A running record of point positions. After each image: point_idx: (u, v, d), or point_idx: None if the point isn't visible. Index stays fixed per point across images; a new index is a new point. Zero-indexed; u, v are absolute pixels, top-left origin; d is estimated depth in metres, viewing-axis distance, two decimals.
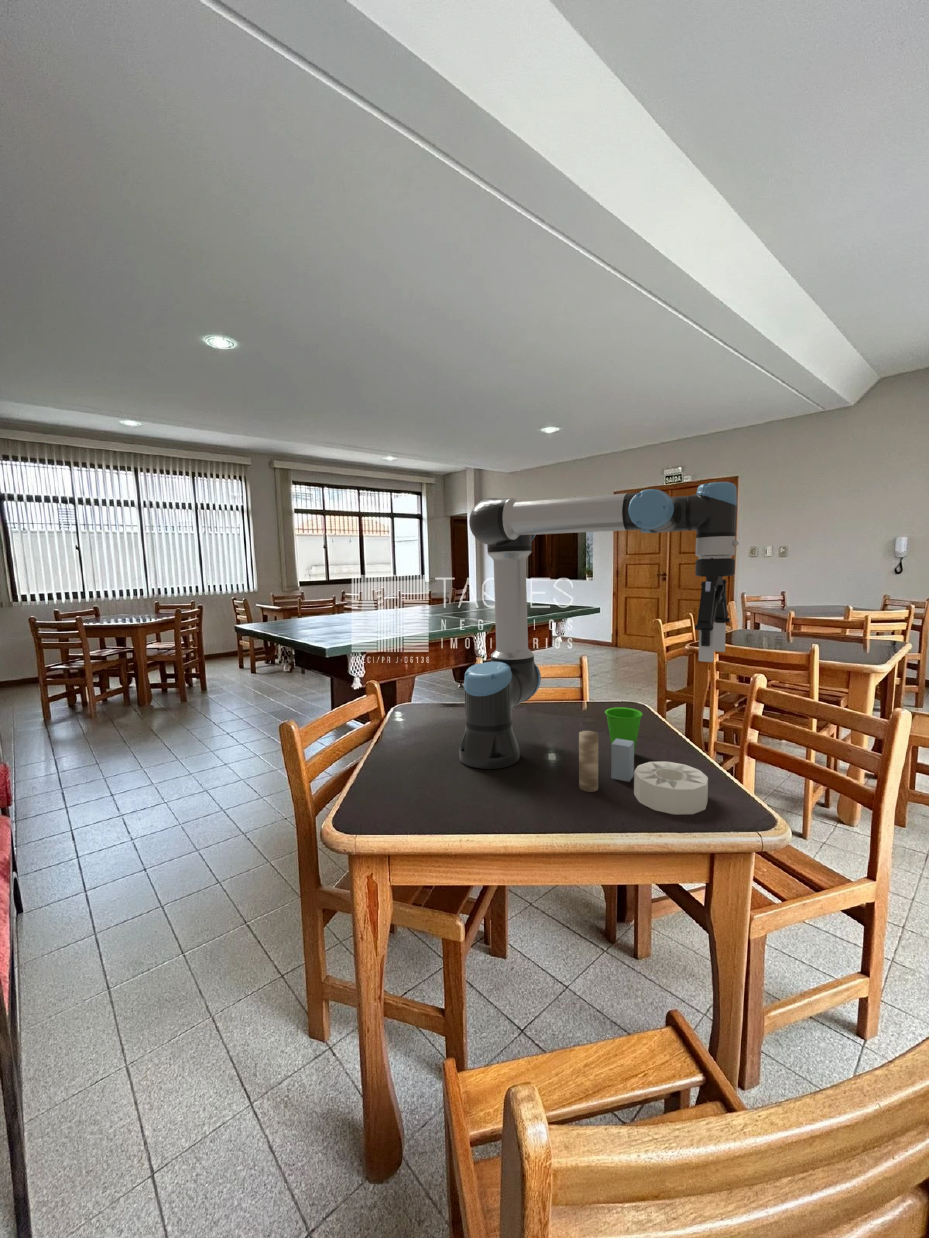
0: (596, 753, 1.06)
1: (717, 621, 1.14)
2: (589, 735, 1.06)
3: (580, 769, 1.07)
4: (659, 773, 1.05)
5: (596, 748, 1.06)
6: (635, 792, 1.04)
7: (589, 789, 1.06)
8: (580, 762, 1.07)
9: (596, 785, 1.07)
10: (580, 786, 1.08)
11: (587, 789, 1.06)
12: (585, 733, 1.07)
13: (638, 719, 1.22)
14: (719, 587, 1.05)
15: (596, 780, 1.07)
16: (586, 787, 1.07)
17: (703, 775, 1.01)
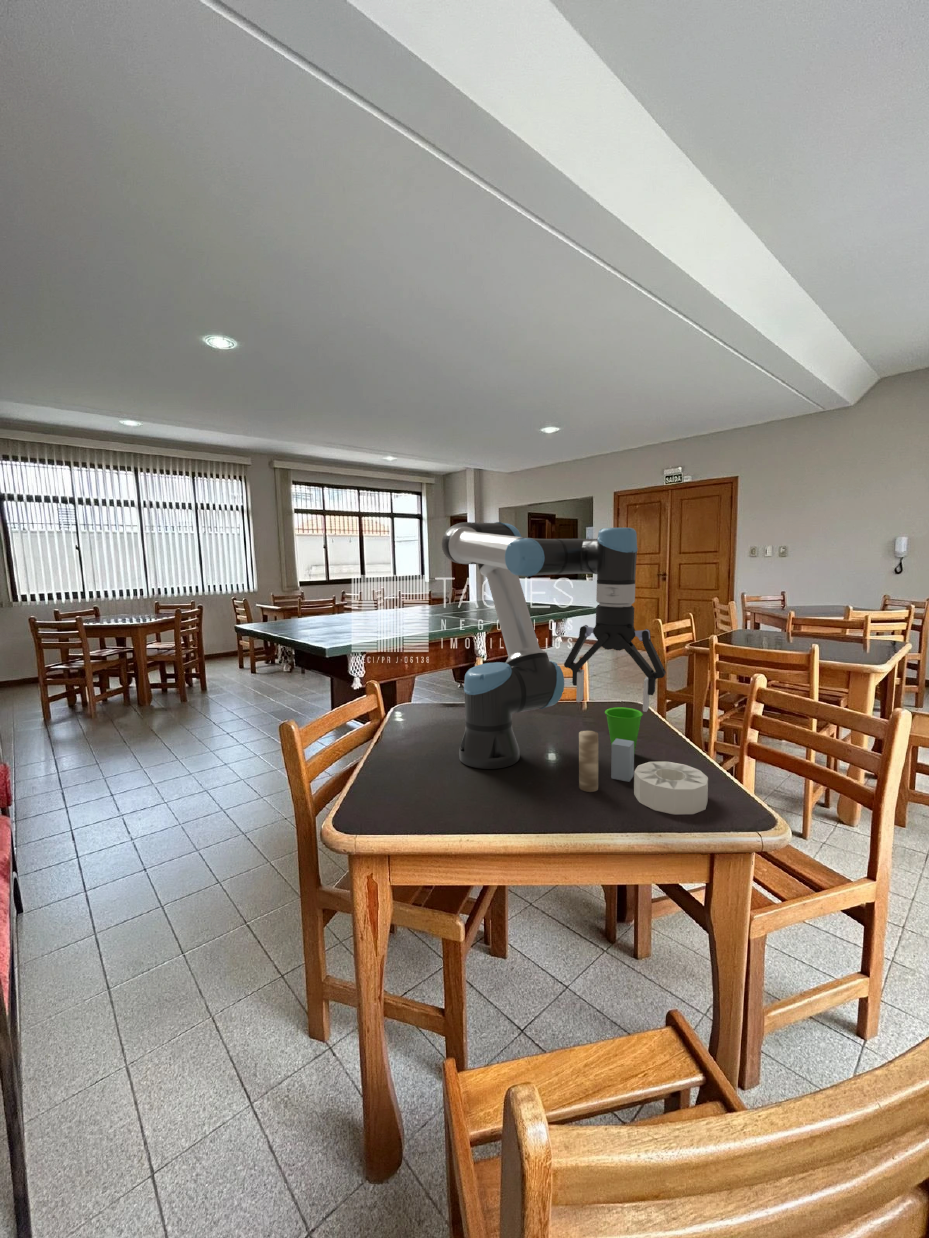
0: (596, 753, 1.06)
1: None
2: (589, 735, 1.06)
3: (580, 769, 1.07)
4: (659, 773, 1.05)
5: (596, 748, 1.06)
6: (635, 792, 1.04)
7: (589, 789, 1.06)
8: (580, 762, 1.07)
9: (596, 785, 1.07)
10: (580, 786, 1.08)
11: (587, 789, 1.06)
12: (585, 733, 1.07)
13: (638, 719, 1.22)
14: (603, 634, 1.03)
15: (596, 780, 1.07)
16: (586, 787, 1.07)
17: (703, 775, 1.01)
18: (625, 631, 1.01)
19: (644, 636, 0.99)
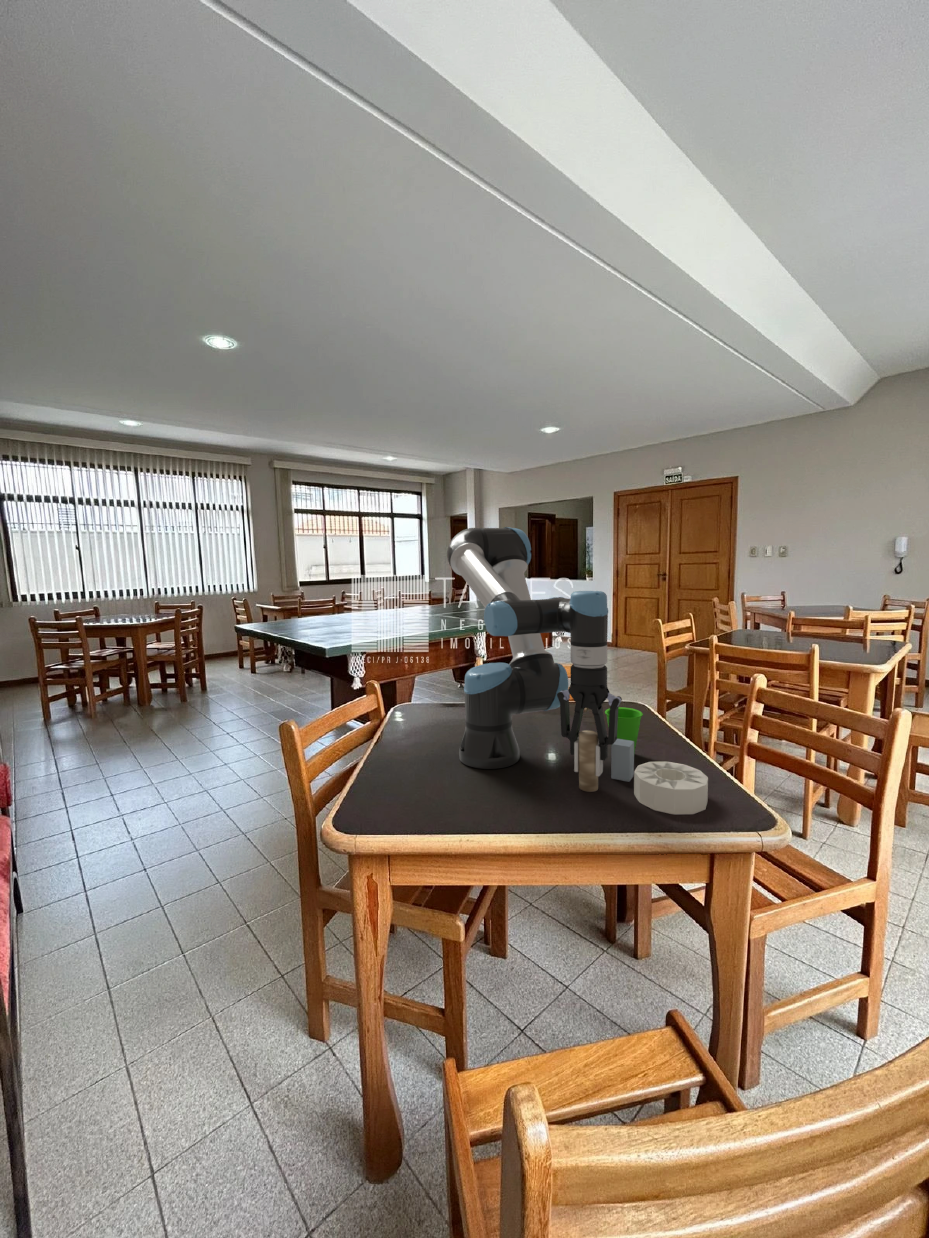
0: None
1: None
2: (589, 735, 1.06)
3: (580, 769, 1.07)
4: (659, 773, 1.05)
5: None
6: (635, 792, 1.04)
7: (589, 789, 1.06)
8: (580, 762, 1.07)
9: (596, 785, 1.07)
10: (580, 786, 1.08)
11: (587, 789, 1.06)
12: (585, 733, 1.07)
13: (638, 719, 1.22)
14: None
15: (596, 780, 1.07)
16: (586, 787, 1.07)
17: (703, 775, 1.01)
18: (600, 690, 1.04)
19: (614, 703, 1.02)
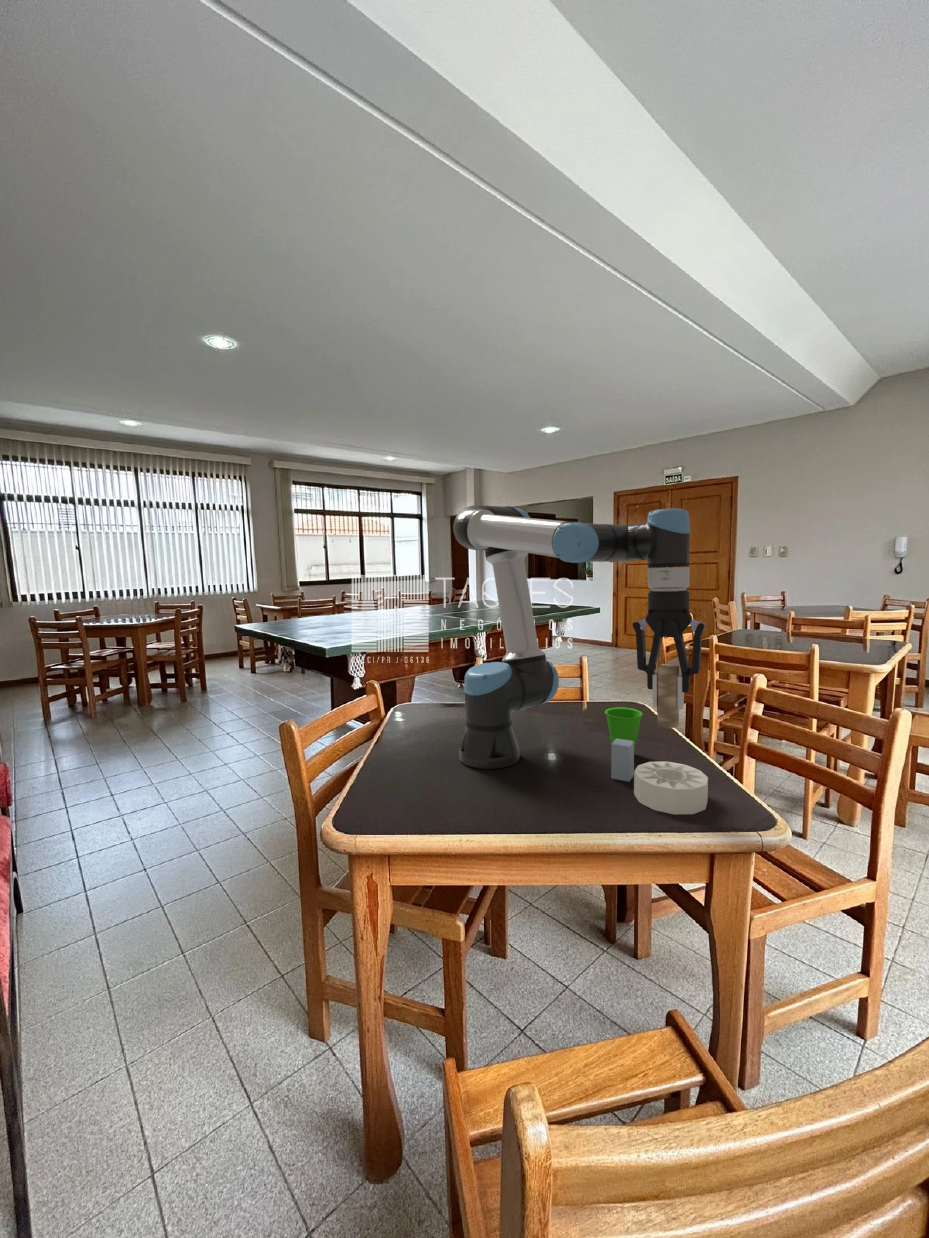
0: (677, 686, 0.98)
1: None
2: (669, 667, 0.98)
3: (659, 704, 1.00)
4: (659, 773, 1.05)
5: (677, 680, 0.98)
6: (635, 792, 1.04)
7: (670, 725, 0.99)
8: (659, 697, 1.00)
9: (677, 721, 0.99)
10: (659, 723, 1.00)
11: (668, 725, 0.99)
12: (664, 665, 1.00)
13: (638, 719, 1.22)
14: None
15: (677, 715, 0.99)
16: (667, 723, 0.99)
17: (703, 775, 1.01)
18: (682, 615, 0.96)
19: (699, 628, 0.95)
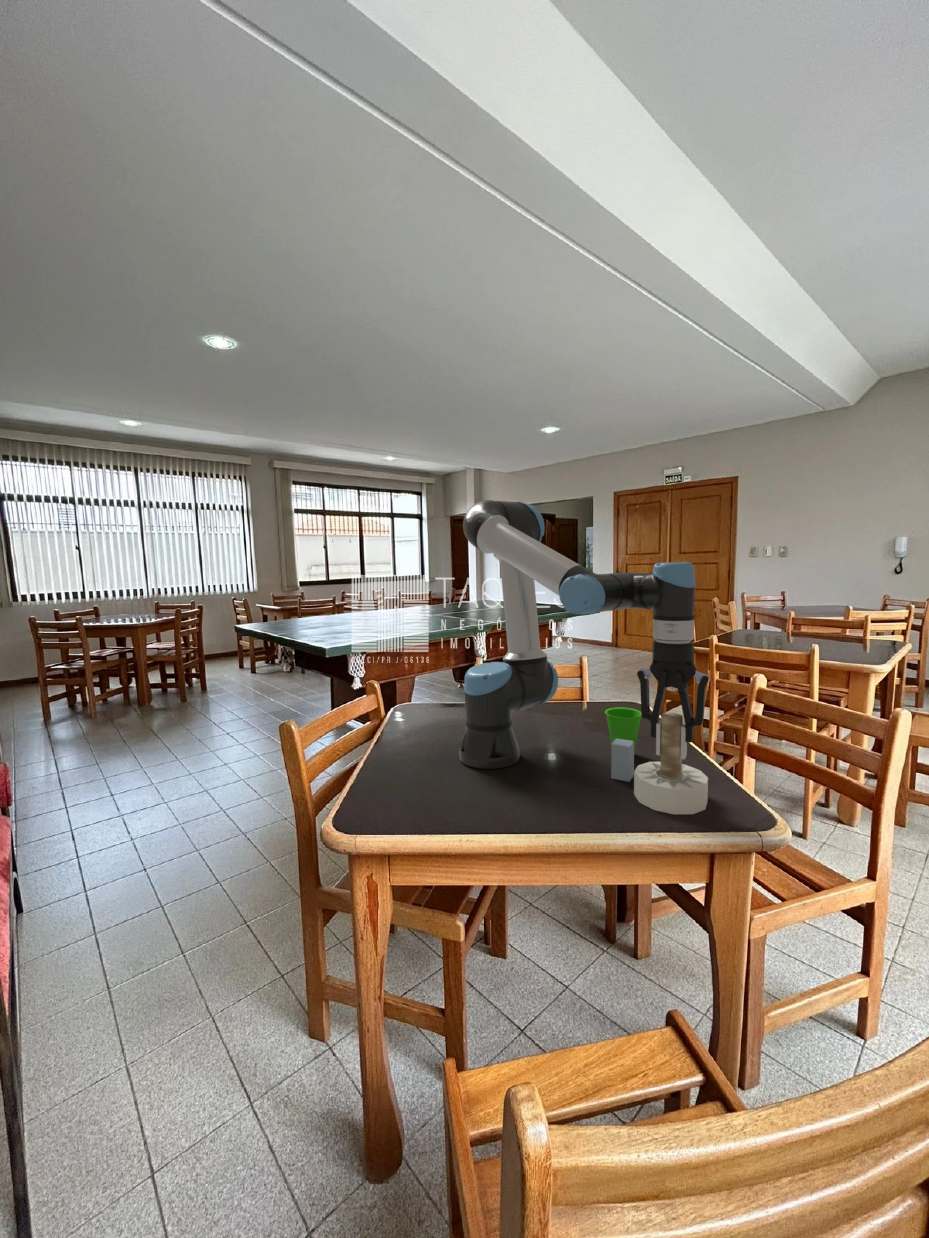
0: None
1: None
2: (673, 717, 1.00)
3: (662, 753, 1.01)
4: (659, 773, 1.05)
5: None
6: (635, 792, 1.04)
7: (673, 774, 1.00)
8: (663, 746, 1.01)
9: (680, 770, 1.00)
10: (662, 771, 1.01)
11: (671, 774, 1.00)
12: (668, 715, 1.01)
13: (638, 719, 1.22)
14: (661, 673, 1.00)
15: (680, 765, 1.00)
16: (670, 772, 1.00)
17: (703, 775, 1.01)
18: (687, 667, 0.97)
19: (703, 681, 0.96)
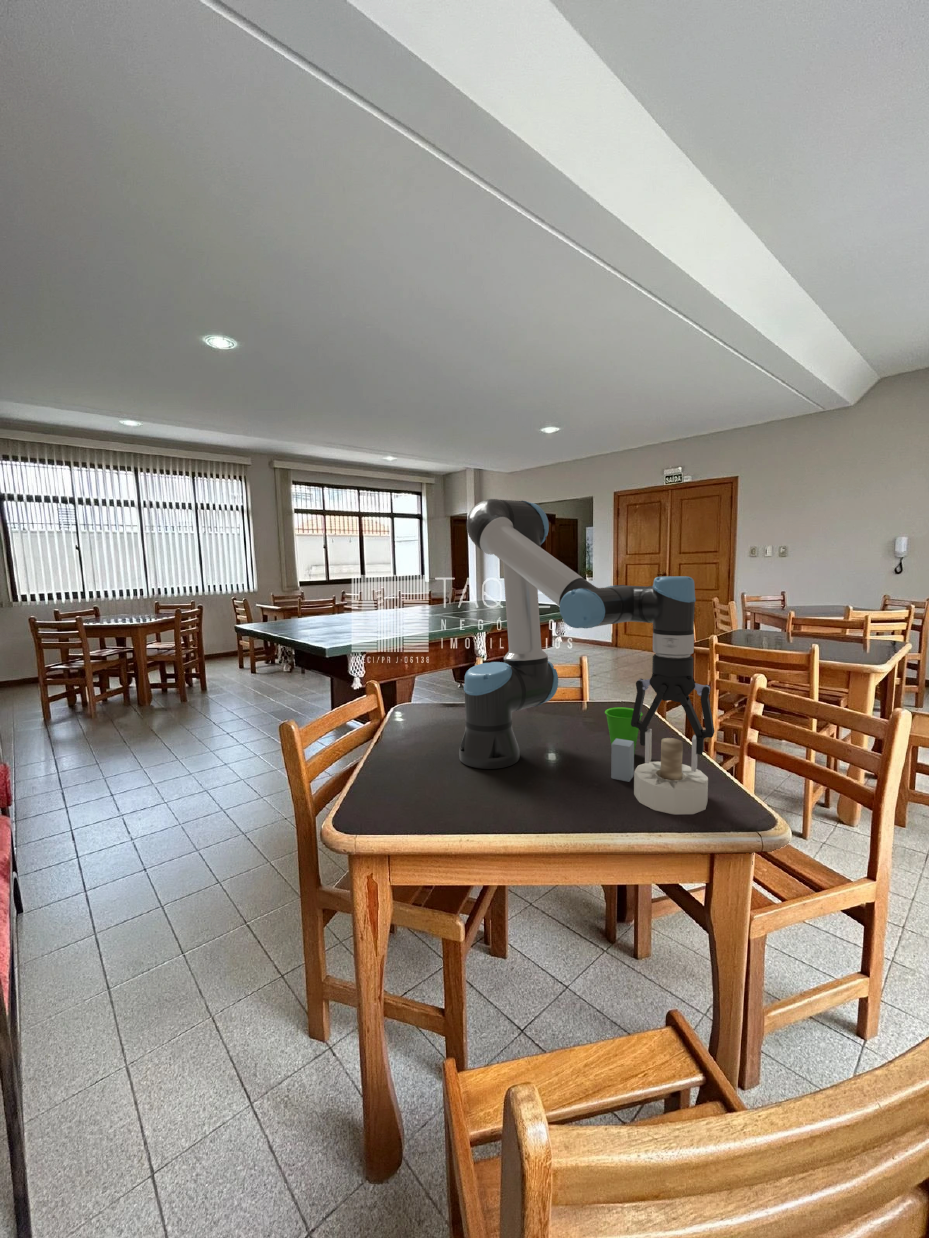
0: (681, 762, 1.00)
1: None
2: (673, 743, 1.00)
3: None
4: (659, 773, 1.05)
5: (681, 757, 1.00)
6: (635, 792, 1.04)
7: None
8: (663, 771, 1.01)
9: None
10: None
11: None
12: (668, 740, 1.02)
13: None
14: (660, 686, 1.00)
15: None
16: None
17: (703, 775, 1.01)
18: (685, 682, 0.98)
19: (704, 692, 0.96)
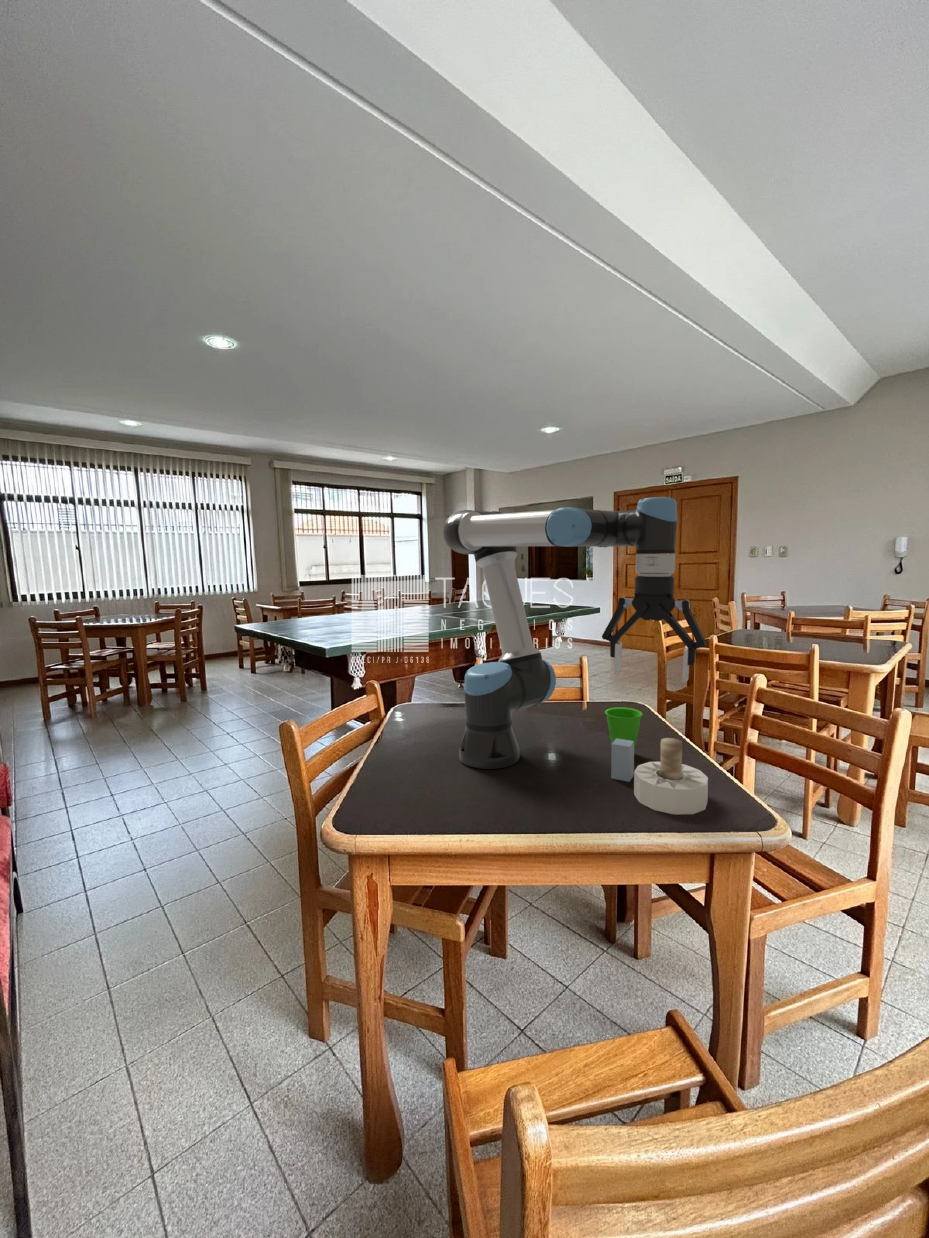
0: (680, 762, 1.00)
1: None
2: (673, 743, 1.00)
3: None
4: (659, 773, 1.05)
5: (680, 757, 1.00)
6: (635, 792, 1.04)
7: None
8: (662, 771, 1.01)
9: None
10: None
11: None
12: (667, 740, 1.02)
13: (638, 719, 1.22)
14: (642, 605, 1.03)
15: None
16: None
17: (703, 775, 1.01)
18: (665, 601, 1.01)
19: (684, 606, 0.99)
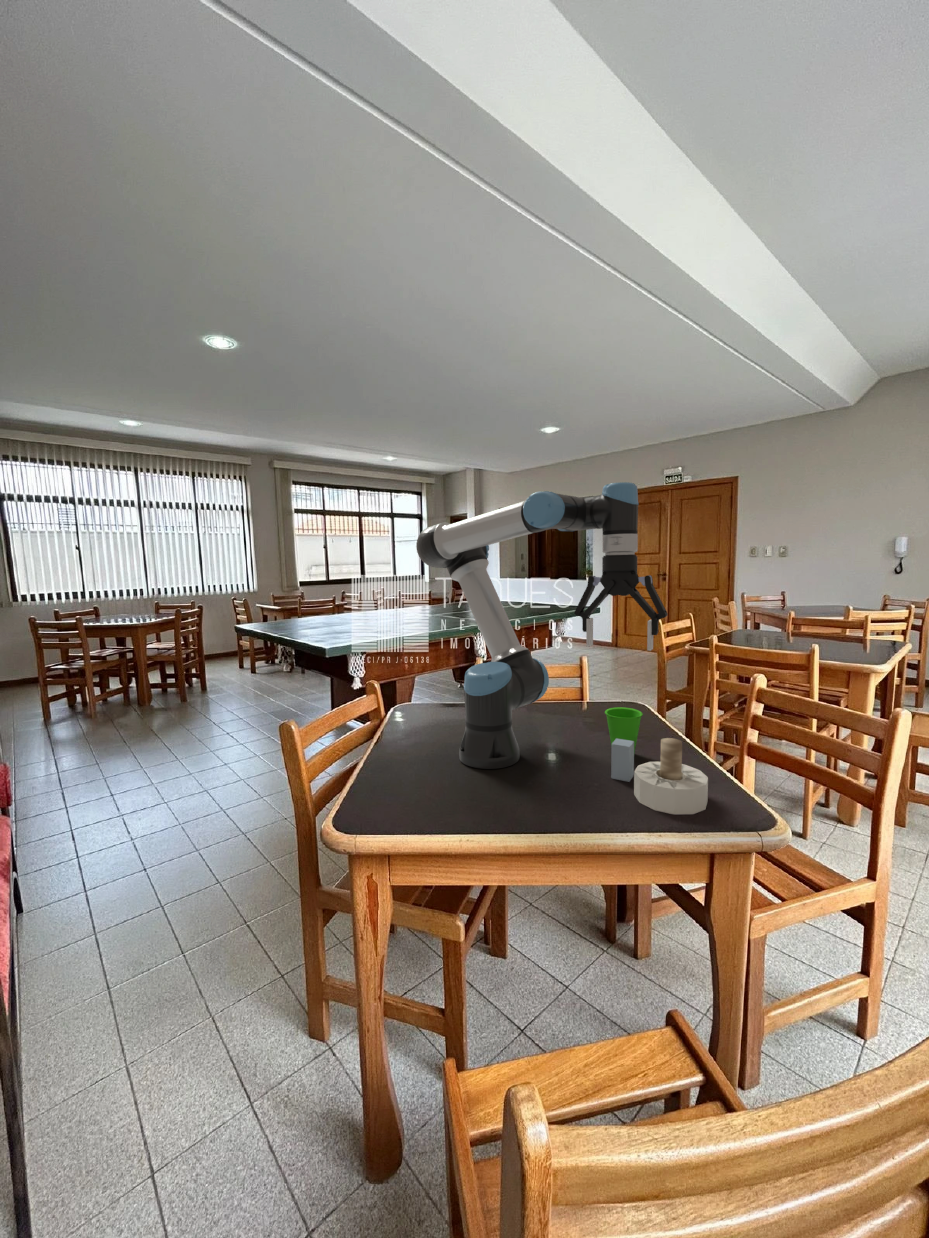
0: (680, 762, 1.00)
1: None
2: (673, 743, 1.00)
3: None
4: (659, 773, 1.05)
5: (680, 757, 1.00)
6: (635, 792, 1.04)
7: None
8: (662, 771, 1.01)
9: None
10: None
11: None
12: (667, 741, 1.02)
13: (638, 719, 1.22)
14: (609, 582, 1.13)
15: None
16: None
17: (703, 775, 1.01)
18: (629, 577, 1.11)
19: (646, 580, 1.09)
